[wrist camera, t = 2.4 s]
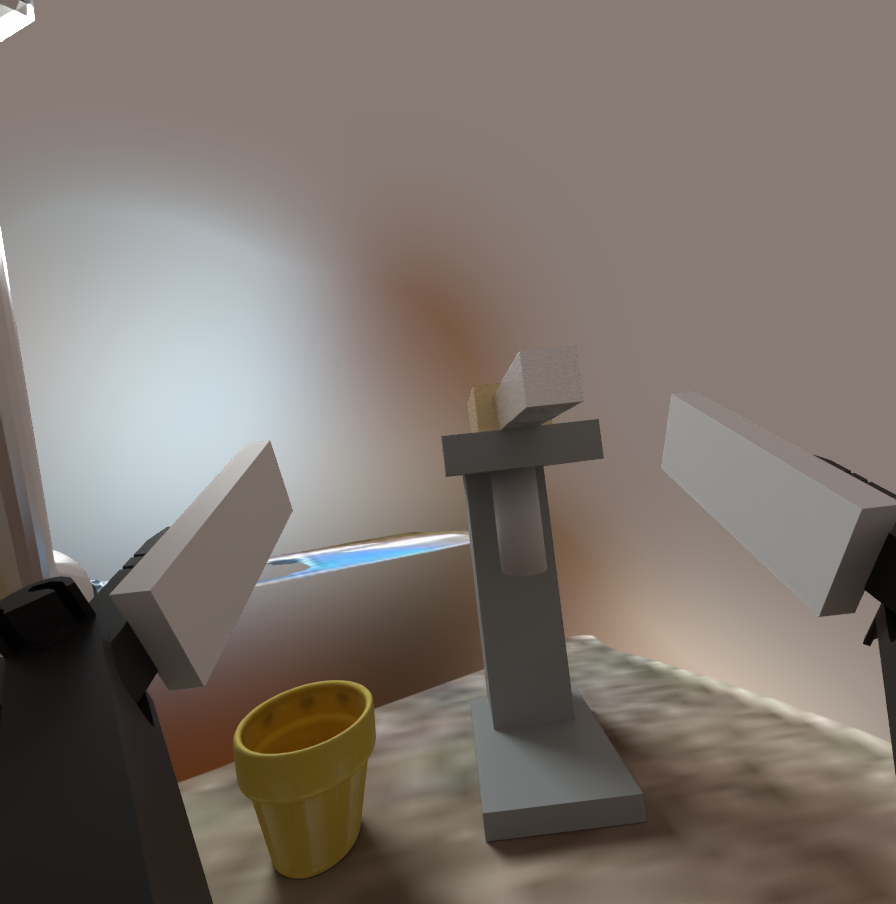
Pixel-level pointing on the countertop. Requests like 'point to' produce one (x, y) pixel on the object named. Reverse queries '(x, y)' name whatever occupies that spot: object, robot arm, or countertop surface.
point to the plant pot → (307, 772)
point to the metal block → (528, 391)
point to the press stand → (531, 645)
